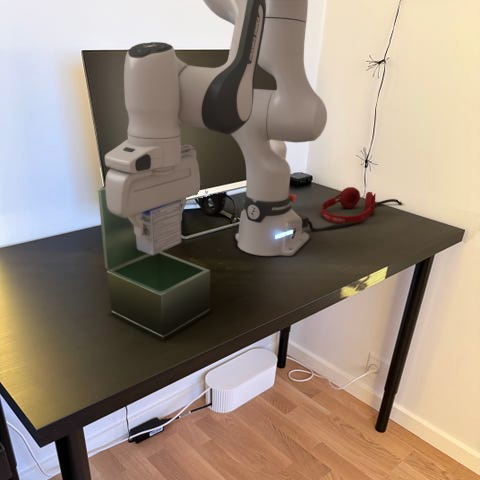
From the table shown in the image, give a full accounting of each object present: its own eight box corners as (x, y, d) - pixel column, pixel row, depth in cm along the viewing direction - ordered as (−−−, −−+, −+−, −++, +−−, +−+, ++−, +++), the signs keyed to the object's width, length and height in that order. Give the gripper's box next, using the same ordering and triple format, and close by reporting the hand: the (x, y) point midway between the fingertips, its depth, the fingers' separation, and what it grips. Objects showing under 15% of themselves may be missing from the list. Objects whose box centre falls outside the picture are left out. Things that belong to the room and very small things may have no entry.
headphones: (345, 201, 169) (312, 222, 157) (346, 181, 164) (313, 202, 153) (383, 212, 160) (352, 235, 149) (386, 191, 156) (354, 214, 145)
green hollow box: (210, 312, 102) (210, 270, 96) (163, 340, 92) (161, 295, 87) (159, 290, 109) (157, 250, 104) (111, 314, 99) (106, 271, 94)
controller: (219, 219, 149) (220, 187, 144) (190, 210, 156) (189, 179, 150) (228, 216, 152) (229, 184, 147) (198, 207, 159) (198, 176, 153)
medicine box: (165, 238, 96) (163, 195, 92) (182, 243, 94) (181, 200, 90) (136, 250, 91) (132, 205, 86) (153, 256, 89) (150, 210, 84)
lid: (157, 175, 95) (138, 169, 97) (100, 189, 85) (81, 182, 88) (158, 248, 103) (141, 241, 106) (107, 269, 94) (89, 260, 96)
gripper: (182, 140, 92) (184, 210, 99) (95, 157, 78) (105, 238, 85) (208, 145, 89) (207, 218, 96) (122, 164, 75) (129, 248, 82)
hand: (158, 227), depth 90 cm, fingers closed on medicine box, 8 cm apart
